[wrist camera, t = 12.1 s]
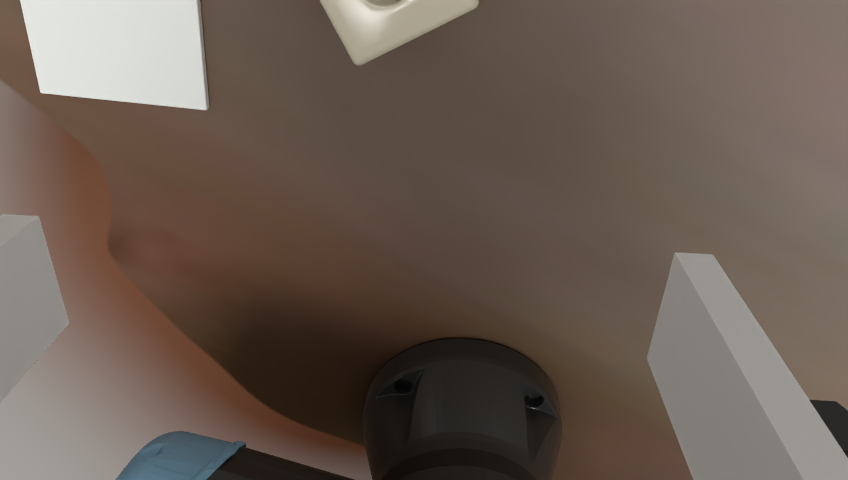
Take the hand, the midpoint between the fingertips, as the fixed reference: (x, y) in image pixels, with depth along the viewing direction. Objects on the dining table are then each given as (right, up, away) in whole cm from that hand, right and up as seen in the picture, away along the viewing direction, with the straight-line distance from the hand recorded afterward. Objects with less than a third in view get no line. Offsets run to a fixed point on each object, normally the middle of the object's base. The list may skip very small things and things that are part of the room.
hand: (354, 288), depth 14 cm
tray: (-16, +16, +22) cm, 31 cm away
